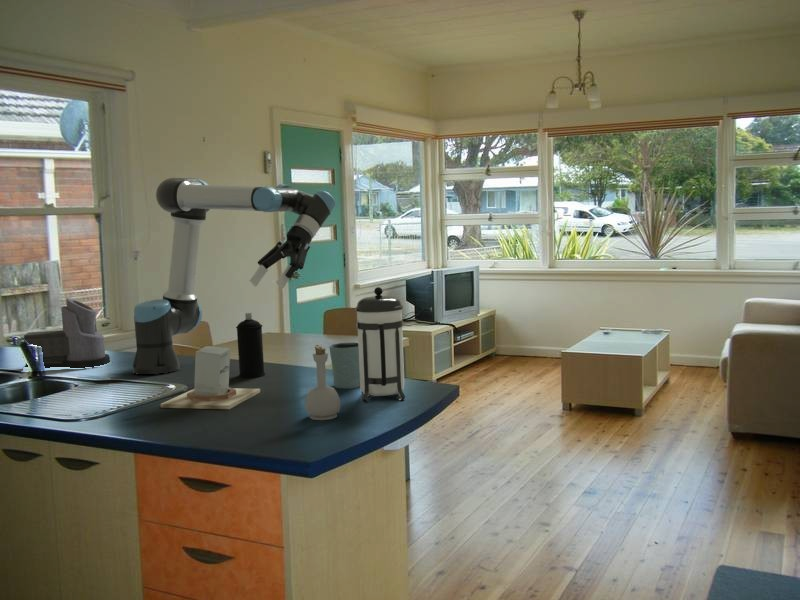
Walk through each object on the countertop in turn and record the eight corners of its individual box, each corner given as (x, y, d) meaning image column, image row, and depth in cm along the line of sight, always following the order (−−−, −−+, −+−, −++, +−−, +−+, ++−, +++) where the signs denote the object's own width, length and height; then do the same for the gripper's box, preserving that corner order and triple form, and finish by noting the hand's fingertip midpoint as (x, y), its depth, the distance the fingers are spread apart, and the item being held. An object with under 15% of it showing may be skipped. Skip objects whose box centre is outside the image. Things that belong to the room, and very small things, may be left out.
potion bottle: (323, 410, 205) (319, 341, 203) (348, 415, 199) (345, 343, 197) (298, 418, 198) (294, 346, 196) (323, 423, 193) (320, 349, 191)
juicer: (116, 359, 295) (111, 293, 292) (110, 367, 279) (105, 297, 277) (28, 366, 288) (22, 298, 286) (18, 374, 273) (11, 303, 270)
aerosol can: (262, 377, 251) (258, 314, 249) (236, 378, 251) (232, 315, 249) (267, 372, 259) (263, 311, 257) (242, 373, 259) (238, 311, 257)
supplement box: (218, 399, 218) (220, 354, 216) (193, 395, 220) (194, 351, 217) (229, 391, 225) (231, 348, 223) (204, 388, 227) (206, 345, 225)
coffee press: (341, 399, 217) (335, 289, 214) (383, 388, 228) (379, 283, 225) (385, 408, 205) (380, 291, 202) (428, 396, 216) (424, 286, 213)
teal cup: (344, 390, 228) (342, 349, 226) (324, 385, 235) (322, 345, 234) (372, 384, 234) (370, 344, 233) (352, 380, 242) (350, 340, 240)
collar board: (160, 407, 215) (160, 399, 215) (196, 391, 235) (196, 383, 234) (228, 409, 210) (228, 401, 210) (260, 392, 230) (259, 384, 229)
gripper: (335, 240, 245) (299, 294, 236) (285, 240, 262) (249, 290, 253) (321, 223, 241) (283, 277, 232) (271, 225, 258) (234, 275, 249)
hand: (265, 284), depth 242 cm, fingers open, 13 cm apart
